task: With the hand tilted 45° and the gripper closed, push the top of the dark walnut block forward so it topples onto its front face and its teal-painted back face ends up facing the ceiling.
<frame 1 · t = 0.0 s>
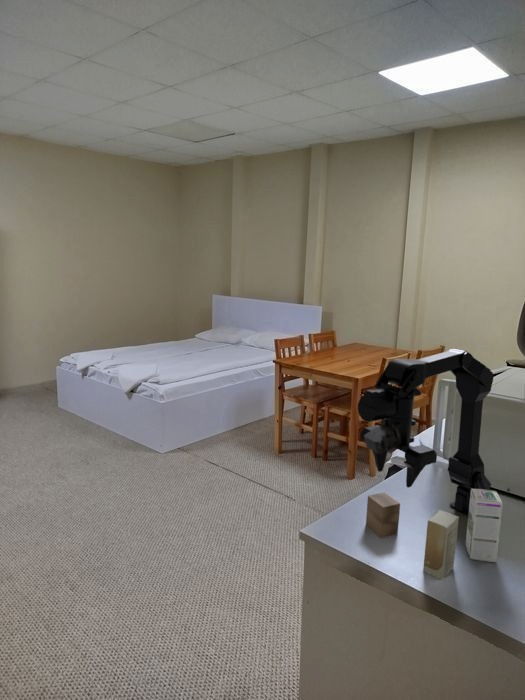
hand: (393, 478, 115), 15 cm above the table, tool pointing down, fingers open, 9 cm apart
skincare box: (437, 570, 105), on the table
syrup box: (479, 554, 111), on the table
walnut block: (381, 529, 120), on the table
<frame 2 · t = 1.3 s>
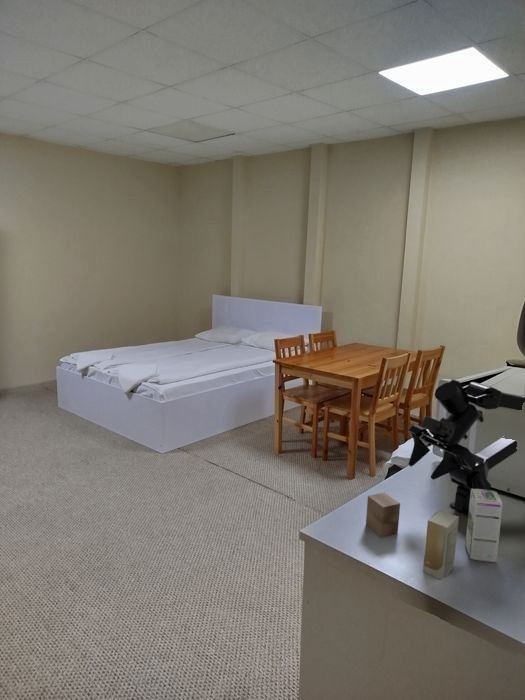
hand: (420, 471, 122), 13 cm above the table, tool tilted 45°, fingers open, 8 cm apart
nothing on the table moved.
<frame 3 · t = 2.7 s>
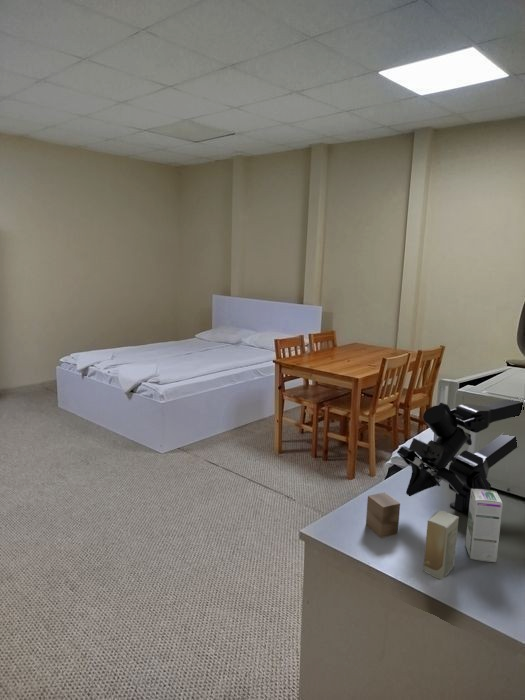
hand: (407, 494, 121), 8 cm above the table, tool tilted 45°, fingers closed
nothing on the table moved.
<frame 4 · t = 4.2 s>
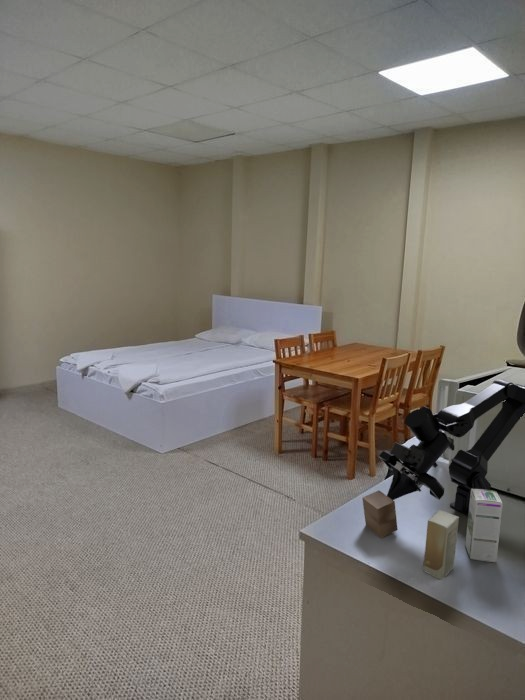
hand: (388, 499, 119), 8 cm above the table, tool tilted 45°, fingers closed
walnut block: (381, 527, 120), on the table, tilted 12°
everything else where it was.
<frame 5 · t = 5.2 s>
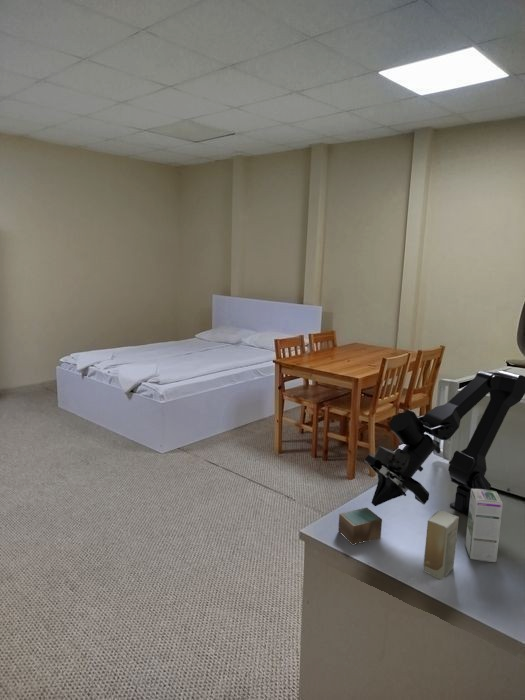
hand: (373, 504, 117), 7 cm above the table, tool tilted 45°, fingers closed
walnut block: (373, 522, 119), point 2 cm above the table, tilted 90°
everything else where it was.
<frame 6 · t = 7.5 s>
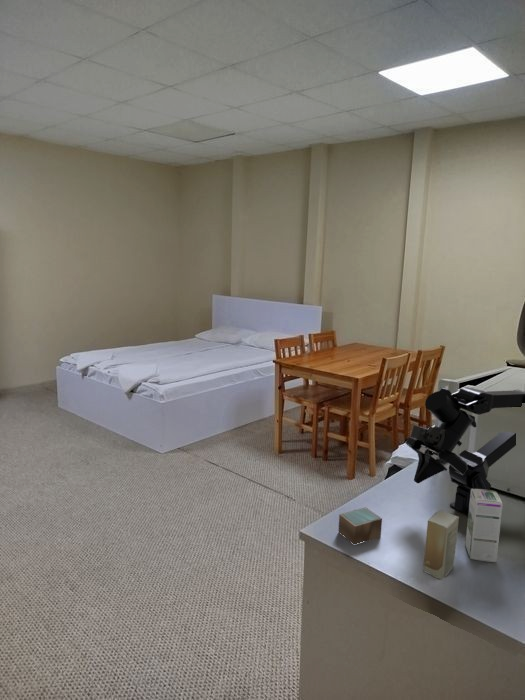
hand: (415, 482, 122), 11 cm above the table, tool tilted 40°, fingers closed
nothing on the table moved.
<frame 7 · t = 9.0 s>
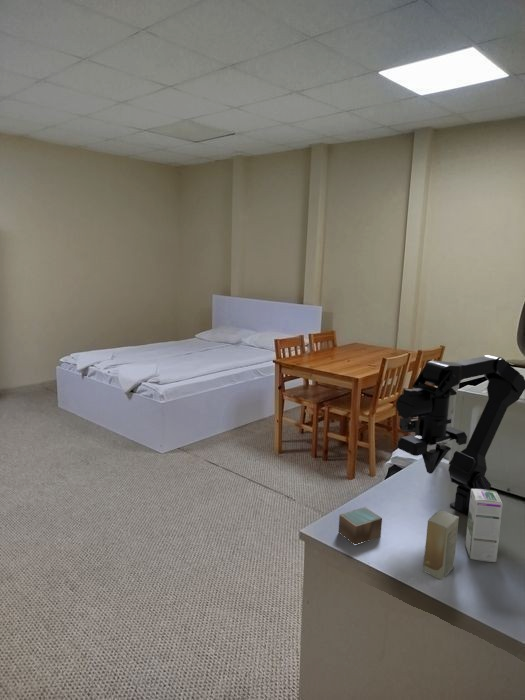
hand: (429, 472, 122), 13 cm above the table, tool pointing down, fingers closed
nothing on the table moved.
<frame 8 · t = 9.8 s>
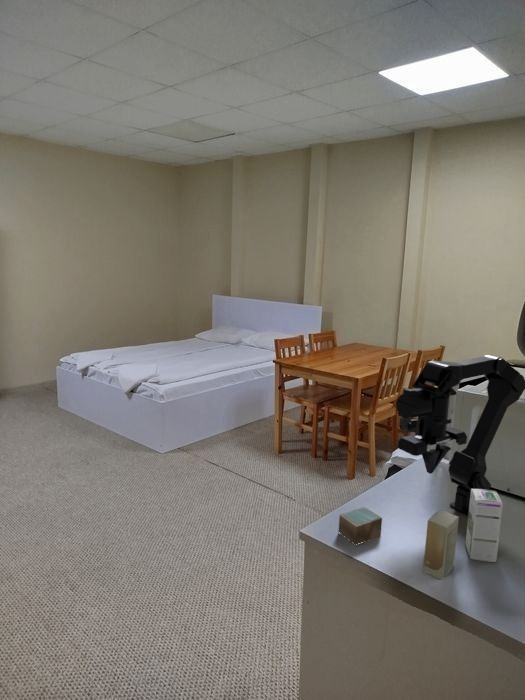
hand: (429, 472, 122), 13 cm above the table, tool pointing down, fingers closed
nothing on the table moved.
at the end: walnut block tilted 90°; walnut block inside the target area (1.4 cm from its centre), point 2.3 cm above the table; the gripper is holding nothing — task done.
